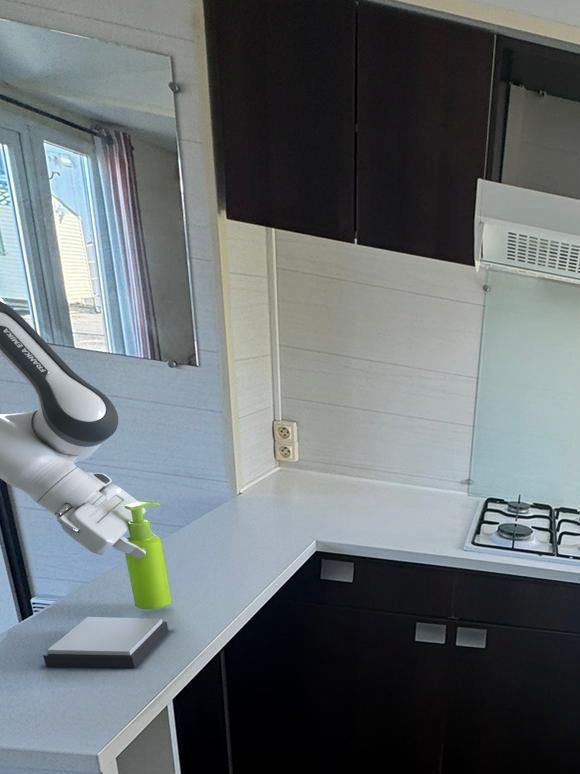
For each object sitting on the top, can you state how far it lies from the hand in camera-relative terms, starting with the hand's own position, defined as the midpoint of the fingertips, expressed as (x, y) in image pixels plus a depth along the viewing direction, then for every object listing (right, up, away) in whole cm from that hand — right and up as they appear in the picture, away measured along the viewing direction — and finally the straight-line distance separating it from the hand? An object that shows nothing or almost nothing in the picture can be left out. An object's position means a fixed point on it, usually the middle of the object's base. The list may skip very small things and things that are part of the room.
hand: (149, 548), depth 119 cm
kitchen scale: (-1, -18, -9) cm, 20 cm away
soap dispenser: (-2, -10, +5) cm, 12 cm away
